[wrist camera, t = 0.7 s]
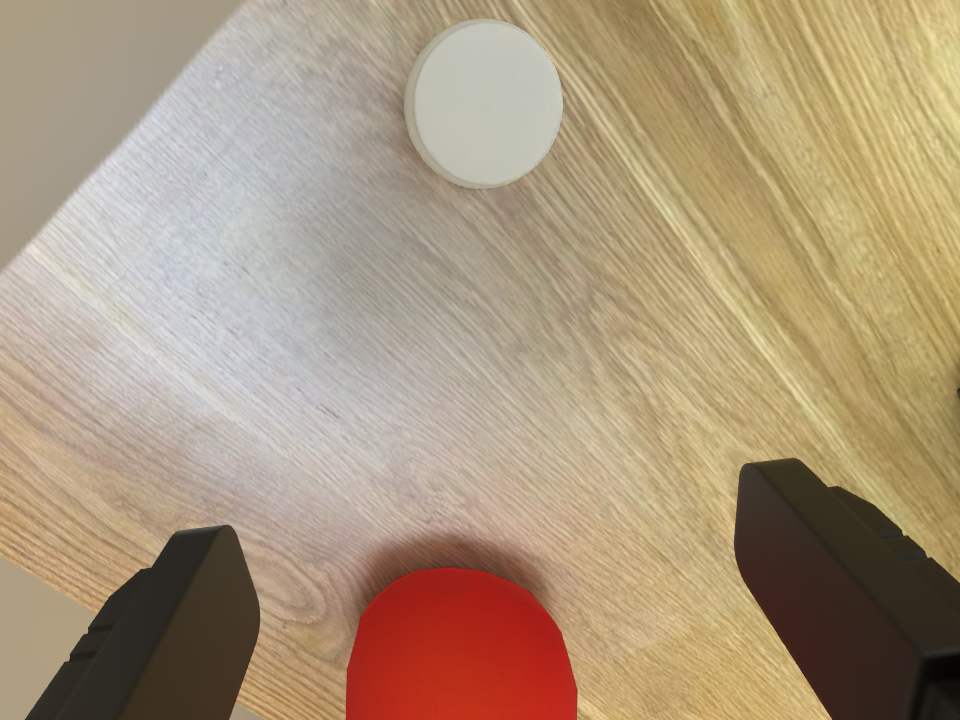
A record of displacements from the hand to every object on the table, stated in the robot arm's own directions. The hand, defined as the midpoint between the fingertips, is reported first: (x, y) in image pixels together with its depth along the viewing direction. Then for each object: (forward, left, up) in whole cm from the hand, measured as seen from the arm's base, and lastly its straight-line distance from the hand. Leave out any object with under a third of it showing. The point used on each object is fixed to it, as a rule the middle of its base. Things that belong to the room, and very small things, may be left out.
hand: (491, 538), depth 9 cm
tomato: (+18, +8, -18) cm, 26 cm away
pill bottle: (-6, -2, -18) cm, 19 cm away
